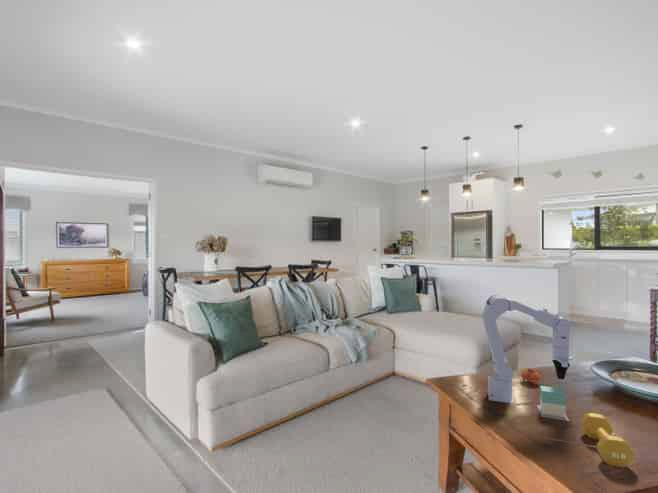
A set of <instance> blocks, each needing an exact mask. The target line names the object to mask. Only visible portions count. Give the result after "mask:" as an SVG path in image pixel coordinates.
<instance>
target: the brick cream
mask: <svg viewBox="0 0 658 493" xmlns="http://www.w3.org/2000/svg"><path fill="white" fill-rule="evenodd" d="M539 405H540V409H541V412H542V414H547V415H553V416H560V417H565V414H566V405H565V406H564V405H557V404H550V403H543V402H542V400H541V398H540V397H539Z"/></svg>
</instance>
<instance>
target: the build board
mask: <svg viewBox="0 0 658 493" xmlns="http://www.w3.org/2000/svg"><path fill="white" fill-rule="evenodd" d="M536 406H537V408H538V412H539V414H540V417H542V418H549V419H554V420H560V421H567V422H570V419H569V418H568V415H567V414H566V413H565V417H560V416H553V415H547V414H542V412H541V409H540V404H539V405H538V404H537V405H536Z"/></svg>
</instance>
